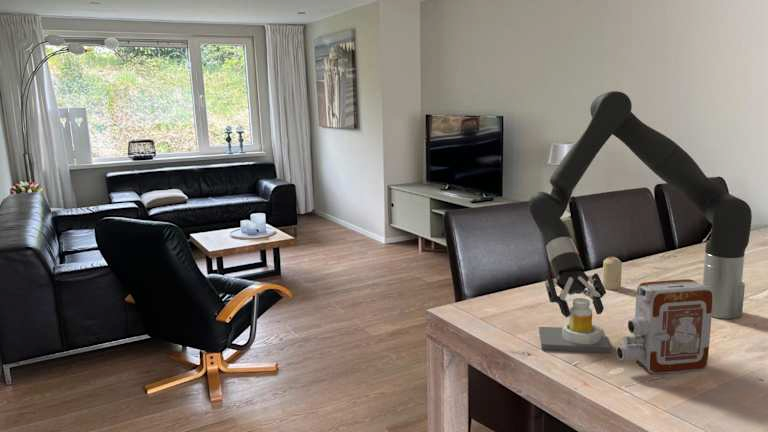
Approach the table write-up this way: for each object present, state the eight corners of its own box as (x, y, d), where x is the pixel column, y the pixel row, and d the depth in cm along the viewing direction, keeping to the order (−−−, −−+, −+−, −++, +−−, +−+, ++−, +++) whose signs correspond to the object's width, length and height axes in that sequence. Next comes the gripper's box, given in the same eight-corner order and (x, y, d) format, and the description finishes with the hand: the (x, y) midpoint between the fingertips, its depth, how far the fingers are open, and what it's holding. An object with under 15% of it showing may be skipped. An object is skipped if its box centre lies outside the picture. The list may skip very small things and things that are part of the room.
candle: (622, 290, 178) (623, 260, 176) (604, 290, 180) (605, 259, 178) (618, 284, 184) (620, 255, 182) (601, 284, 185) (602, 255, 183)
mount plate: (602, 334, 147) (603, 320, 146) (610, 353, 136) (610, 337, 135) (539, 331, 150) (539, 317, 149) (541, 349, 139) (542, 334, 139)
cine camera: (607, 361, 132) (611, 280, 128) (686, 355, 134) (692, 274, 130) (627, 380, 123) (632, 293, 119) (712, 373, 125) (719, 287, 121)
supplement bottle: (564, 334, 144) (565, 299, 142) (581, 330, 146) (582, 295, 144) (578, 342, 139) (579, 305, 137) (596, 338, 141) (597, 302, 139)
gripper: (543, 253, 145) (562, 311, 136) (594, 248, 147) (617, 305, 138) (534, 267, 151) (552, 323, 142) (584, 262, 153) (605, 318, 144)
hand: (584, 314), depth 140 cm, fingers open, 8 cm apart
